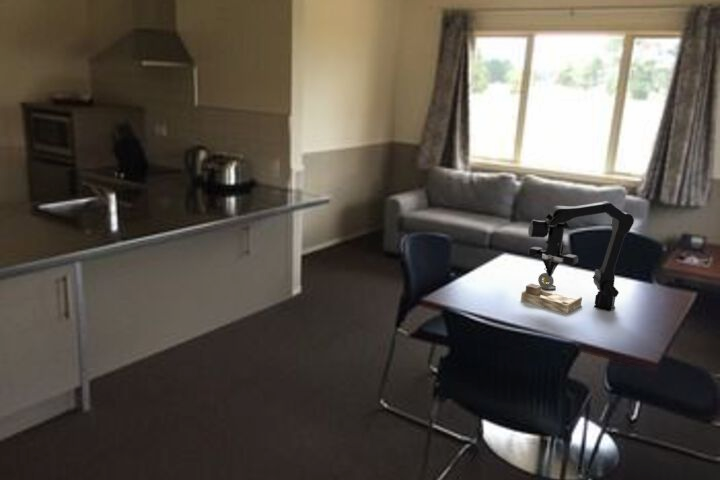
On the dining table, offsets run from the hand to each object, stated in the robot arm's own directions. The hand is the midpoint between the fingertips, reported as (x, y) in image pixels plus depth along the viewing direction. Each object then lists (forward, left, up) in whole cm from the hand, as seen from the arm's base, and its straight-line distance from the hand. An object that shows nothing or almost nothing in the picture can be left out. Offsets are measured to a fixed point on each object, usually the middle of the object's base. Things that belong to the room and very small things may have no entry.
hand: (550, 276), depth 243 cm
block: (+6, +1, -10) cm, 12 cm away
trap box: (-1, -3, -12) cm, 12 cm away
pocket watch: (+9, -20, -12) cm, 25 cm away
